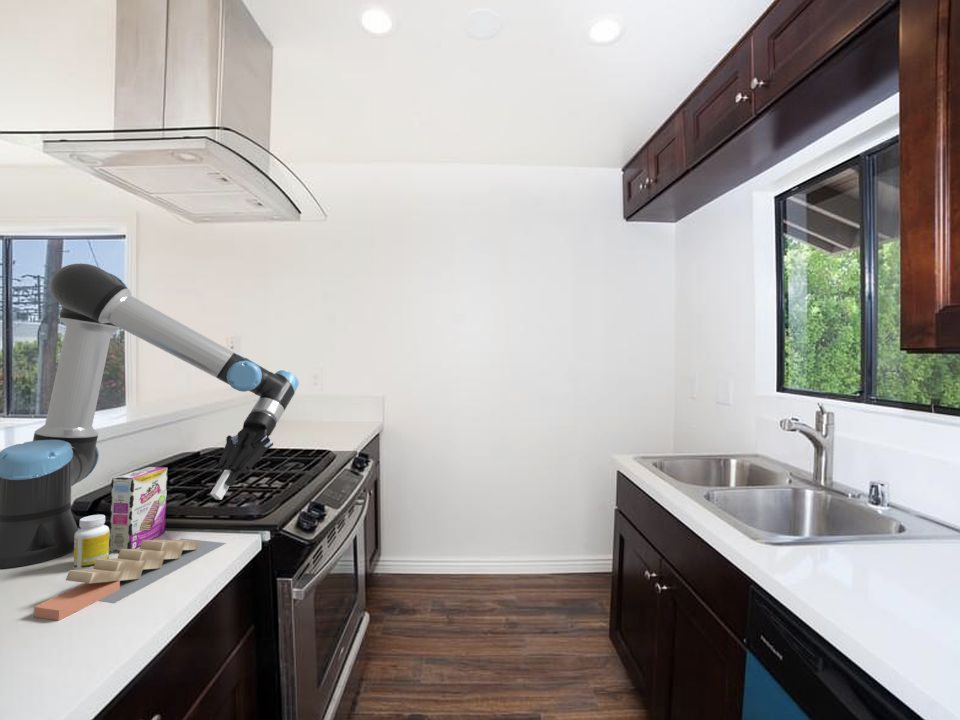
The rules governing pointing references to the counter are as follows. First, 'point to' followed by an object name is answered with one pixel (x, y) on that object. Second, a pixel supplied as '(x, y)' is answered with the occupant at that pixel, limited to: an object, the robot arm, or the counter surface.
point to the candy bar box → (138, 507)
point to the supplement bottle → (91, 542)
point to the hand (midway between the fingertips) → (215, 496)
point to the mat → (160, 571)
